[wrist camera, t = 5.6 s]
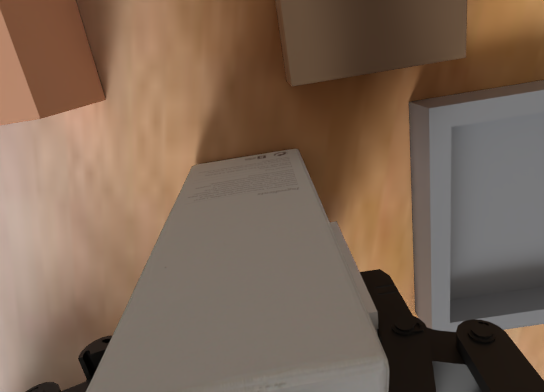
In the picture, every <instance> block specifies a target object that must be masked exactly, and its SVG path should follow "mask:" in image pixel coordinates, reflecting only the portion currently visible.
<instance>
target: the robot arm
mask: <svg viewBox="0 0 544 392" xmlns="http://www.w3.org/2000/svg"><path fill="white" fill-rule="evenodd" d="M330 224H331V227H332V229H333V232H334V234H335V236H336V239H337V241H338V243H339V246H340V248H341V250H342V253H343V255H344V257H345V260H346V262H347V264H348V267H349V269H350V272H351V274H352V276H353V279H354V281H355V283H356V286H357V288H358V290H359V293H360V295H361V297H362V300H363V302H364V304H365V307H366V309H367V312H368V314H369V316H370V319H371V321H372V323H373V326H374V328H375V331H376V333H377V335H378V338H379V340H380V343H381V345H382V347H383V350H384V352H385V355H386V357H387V359H388V365H389V391H388V392H544V380H543V379H542V378H541V377H540V375H539V374H538V373H537V372H536V370H535V369H534V368H533V366H532V365H531V364H530V363H529V361H528V360H527V359H526V358H525V356H524V355H523V354H522V352H521V351H520V350H519V349H518V347H517V346H516V345H515V344H514V342H513V341H512V340H511V338H510V337H509V336H508V335H507V333H506V332H505V331H504V330H503V329H502V328H500V327H499V326H497V325H495V324H493V323H491V322H488V321H484V320H475V319H471V320H467V321H463V322H462V323H461V324H459V325H458V327H457V330H456V332H450V331H440V330H434V329H431V328H428V327H426V325H425V323H424V322H423V321H421V320H420V319H419V318H416V317H414V316H413V315H412V313H411V312H410V310H409V308H408V307H407V305H406V303H405V301H404V300H403V298H402V296H401V295H400V293H399V292H398V289H397V288H396V286H395V285H394V283H393V281H392V279H391V277H390V276H389V275H388V274H386V273H385V272H383V271H382V270H380V269H378V270H372V271H365V272H359V270H358V268H357V266H356V263H355V261H354V259H353V257H352V254H351V252H350V250H349V248H348V246H347V243H346V241H345V239H344V237H343V235H342V232H341V230H340V228H339V226H338V224H337V221H336V222H330ZM111 338H112V336H107V337H102V338H100V339H98V340H96V341H94V342H92V343H91V344H89V345H88V346H86V348H85V349H84V350H83V351H82V352H81V353H80V355H79V358H78V359H79V362H80V364H81V366H82V369H83V371H84V373H85V376H86V378H87V381H86V382H84V383H81V384H79V385H76V386H74V387H71V388H69V389H66V390H63V391H61V390H60V388H59V385H58V384H56V383H54V382H45V383H42V384H39V385H36V386H35V387H33V388H31V389H29V390H27V391H26V392H86V390H87V388H88V386H89V384H90V382H91V380H92V378H93V376H94V374H95V372H96V370H97V368H98V366H99V363H100V361H101V359H102V357H103V355H104V353H105V350H106V348H107V346H108V344H109V342H110V340H111Z"/></svg>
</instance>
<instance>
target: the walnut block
mask: <svg viewBox="0 0 544 392" xmlns="http://www.w3.org/2000/svg"><path fill="white" fill-rule="evenodd" d="M275 3H276V10H277V17H278V25H279V32H280V39H281V46H282V53H283V61H284V68H285V75H286V81H287V82H288V83H289V84H290V85H291V86H298V85H304V84H310V83H316V82H322V81H328V80H334V79H340V78H346V77H352V76H358V75H364V74H370V73H376V72H382V71H388V70H394V69H400V68H406V67H412V66H418V65H424V64H430V63H436V62H442V61H448V60H454V59H460V58H466V29H467V0H275Z"/></svg>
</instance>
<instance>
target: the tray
mask: <svg viewBox="0 0 544 392" xmlns="http://www.w3.org/2000/svg"><path fill="white" fill-rule="evenodd" d="M409 124H410V157H411V189H412V222H413V254H414V287H415V312H416V314H417V316H418V317H419V319H420V320H421V321H423V322H424V323H425V325H426V327H428V328H431V329H434V330H440V331H450V332H456V330H457V327H458V325H459V324H461V323H462V322H463V321H467V320H471V319H475V320H484V321H488V322H491V323H493V324H495V325H497V326H499V327H500V328H502V329H503V330H504V329H511V328H518V327H525V326H532V325H539V324H544V80H541V81H534V82H528V83H522V84H516V85H510V86H504V87H497V88H491V89H485V90H479V91H473V92H467V93H460V94H454V95H448V96H442V97H436V98H430V99H423V100H417V101H411V102H409Z"/></svg>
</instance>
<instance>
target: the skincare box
mask: <svg viewBox="0 0 544 392" xmlns="http://www.w3.org/2000/svg"><path fill="white" fill-rule="evenodd" d="M388 391H389V365H388V359H387V357H386V355H385V352H384V350H383V347H382V345H381V343H380V340H379V338H378V335H377V333H376V331H375V328H374V326H373V323H372V321H371V319H370V316H369V314H368V312H367V309H366V307H365V304H364V302H363V300H362V297H361V295H360V293H359V290H358V288H357V286H356V283H355V281H354V279H353V276H352V274H351V272H350V269H349V267H348V264H347V262H346V260H345V257H344V255H343V253H342V250H341V248H340V246H339V243H338V241H337V239H336V236H335V234H334V232H333V229H332V227H331V224H330V222H329V220H328V217H327V215H326V213H325V210H324V208H323V205H322V203H321V201H320V198H319V196H318V194H317V191H316V189H315V187H314V184H313V182H312V180H311V178H310V175H309V173H308V171H307V168H306V166H305V164H304V161H303V159H302V157H301V154H300V152H299V150H298V149H289V150H283V151H277V152H271V153H264V154H258V155H252V156H246V157H240V158H234V159H228V160H222V161H216V162H210V163H203V164H198V165H194V166H192V168H191V170H190V172H189V174H188V176H187V178H186V180H185V182H184V184H183V187H182V189H181V191H180V193H179V195H178V197H177V199H176V202H175V204H174V206H173V208H172V210H171V212H170V214H169V216H168V218H167V220H166V222H165V225H164V227H163V229H162V231H161V233H160V235H159V238H158V240H157V242H156V244H155V246H154V248H153V250H152V252H151V255H150V257H149V259H148V261H147V263H146V265H145V267H144V270H143V272H142V274H141V276H140V278H139V280H138V282H137V285H136V287H135V289H134V291H133V293H132V295H131V298H130V300H129V302H128V304H127V306H126V308H125V311H124V313H123V315H122V317H121V319H120V321H119V323H118V325H117V327H116V329H115V331H114V334H113V336H112V338H111V340H110V342H109V344H108V346H107V348H106V350H105V353H104V355H103V357H102V359H101V361H100V363H99V366H98V368H97V370H96V372H95V374H94V376H93V378H92V380H91V382H90V384H89V386H88V388H87V390H86V392H388Z"/></svg>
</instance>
